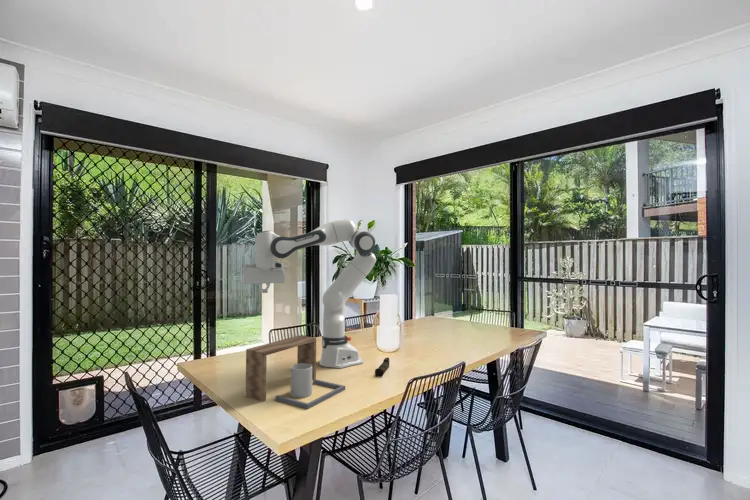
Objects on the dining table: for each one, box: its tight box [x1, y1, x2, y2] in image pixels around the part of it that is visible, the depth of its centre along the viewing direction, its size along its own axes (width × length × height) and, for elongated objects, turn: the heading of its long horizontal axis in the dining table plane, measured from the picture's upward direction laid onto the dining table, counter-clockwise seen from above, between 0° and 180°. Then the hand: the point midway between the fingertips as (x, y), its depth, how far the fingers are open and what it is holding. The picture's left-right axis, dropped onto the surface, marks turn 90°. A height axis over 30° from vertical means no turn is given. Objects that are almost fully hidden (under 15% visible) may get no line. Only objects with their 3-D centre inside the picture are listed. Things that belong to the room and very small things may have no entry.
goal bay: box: [275, 378, 346, 410], centre depth 149 cm, size 16×23×2 cm
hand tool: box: [374, 357, 391, 377], centre depth 181 cm, size 19×4×5 cm, turn 162°
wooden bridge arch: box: [245, 335, 317, 403], centre depth 157 cm, size 10×30×18 cm, turn 149°
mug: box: [289, 363, 313, 399], centre depth 152 cm, size 12×8×11 cm
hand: (264, 292), depth 181 cm, fingers closed
